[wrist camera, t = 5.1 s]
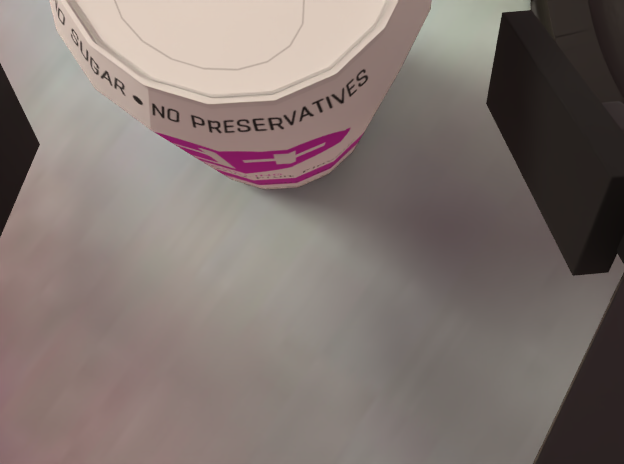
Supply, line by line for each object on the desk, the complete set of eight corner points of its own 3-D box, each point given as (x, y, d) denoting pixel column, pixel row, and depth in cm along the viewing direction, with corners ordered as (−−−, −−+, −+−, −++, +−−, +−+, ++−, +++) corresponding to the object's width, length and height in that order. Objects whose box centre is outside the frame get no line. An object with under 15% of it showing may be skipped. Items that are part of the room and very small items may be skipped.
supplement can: (340, 212, 26) (383, 192, 11) (159, 158, 26) (-53, 61, 11) (393, 34, 26) (512, -239, 11) (212, -21, 26) (74, -373, 11)
